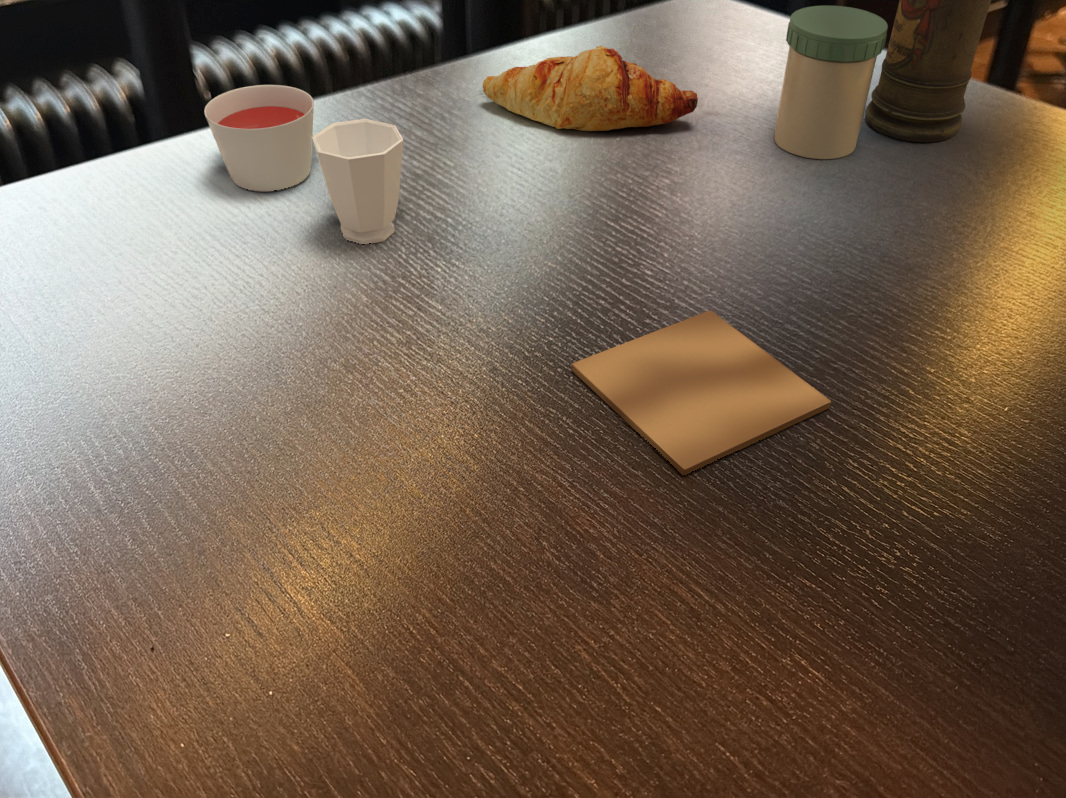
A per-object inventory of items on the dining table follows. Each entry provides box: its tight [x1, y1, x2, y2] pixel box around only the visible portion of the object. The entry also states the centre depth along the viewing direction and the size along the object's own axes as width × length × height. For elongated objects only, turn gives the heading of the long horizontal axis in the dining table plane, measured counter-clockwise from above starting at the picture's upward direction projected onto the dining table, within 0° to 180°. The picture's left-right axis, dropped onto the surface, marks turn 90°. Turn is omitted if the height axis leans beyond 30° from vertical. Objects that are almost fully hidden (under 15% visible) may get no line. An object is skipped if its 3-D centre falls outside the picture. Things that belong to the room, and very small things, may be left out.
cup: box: [312, 118, 404, 245], centre depth 79 cm, size 7×10×8 cm
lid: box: [785, 4, 889, 62], centre depth 88 cm, size 8×8×2 cm
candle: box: [203, 84, 315, 192], centre depth 86 cm, size 9×9×6 cm
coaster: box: [570, 309, 832, 476], centre depth 65 cm, size 12×12×1 cm
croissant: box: [482, 45, 699, 132], centre depth 96 cm, size 21×10×8 cm, turn 78°
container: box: [865, 0, 992, 143], centre depth 92 cm, size 9×9×18 cm
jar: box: [773, 45, 878, 160], centre depth 91 cm, size 8×8×11 cm
